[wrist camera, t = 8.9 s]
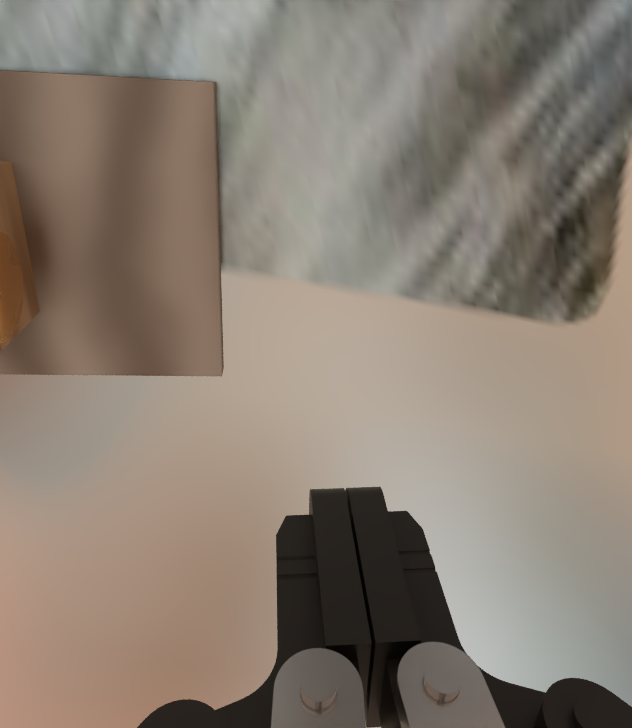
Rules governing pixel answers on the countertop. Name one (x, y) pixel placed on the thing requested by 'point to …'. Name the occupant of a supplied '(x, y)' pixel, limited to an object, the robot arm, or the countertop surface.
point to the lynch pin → (9, 288)
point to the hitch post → (112, 224)
